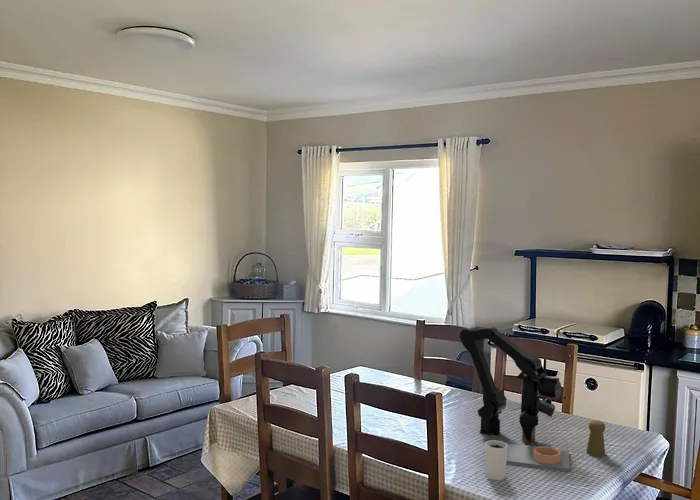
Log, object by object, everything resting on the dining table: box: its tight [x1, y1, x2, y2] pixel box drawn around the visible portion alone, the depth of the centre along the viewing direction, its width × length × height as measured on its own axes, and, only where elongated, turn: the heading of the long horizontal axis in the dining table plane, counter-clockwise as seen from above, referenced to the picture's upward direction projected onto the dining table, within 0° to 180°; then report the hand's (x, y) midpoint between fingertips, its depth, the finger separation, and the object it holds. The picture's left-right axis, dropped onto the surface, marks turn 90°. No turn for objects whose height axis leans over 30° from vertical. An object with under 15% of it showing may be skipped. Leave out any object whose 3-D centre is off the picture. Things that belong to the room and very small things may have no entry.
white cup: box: [484, 439, 508, 481], centre depth 194 cm, size 7×7×10 cm
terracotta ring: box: [533, 445, 561, 464], centre depth 206 cm, size 8×8×2 cm
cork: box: [586, 419, 606, 458], centre depth 213 cm, size 6×6×11 cm
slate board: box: [506, 443, 571, 473], centre depth 209 cm, size 20×16×1 cm
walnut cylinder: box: [521, 426, 537, 445], centre depth 224 cm, size 4×4×8 cm
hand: (528, 436), depth 224 cm, fingers open, 9 cm apart
